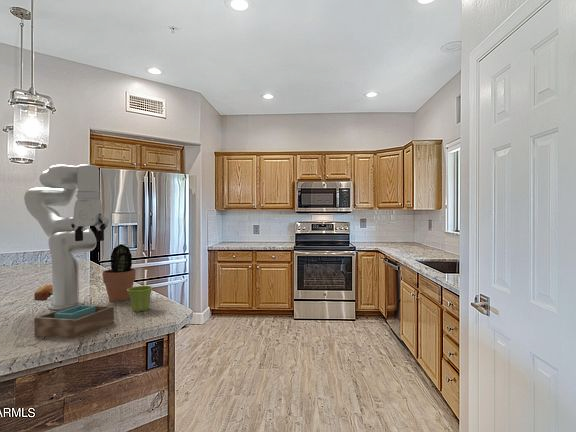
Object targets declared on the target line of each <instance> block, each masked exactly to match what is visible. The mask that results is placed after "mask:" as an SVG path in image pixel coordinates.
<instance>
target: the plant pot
mask: <svg viewBox="0 0 576 432" xmlns="http://www.w3.org/2000/svg"><path fill="white" fill-rule="evenodd" d="M152 289H153V286H152V285H137V286H133V287H132V288H129V289H127V291H128V293H129V295H130V299H129V300H130V304H131V309H132V311H133V312H137V313H139V312H144V311H147V310H149V309H150V303H151V302H150V301H151V294H152Z"/></svg>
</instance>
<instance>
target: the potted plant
mask: <svg viewBox="0 0 576 432" xmlns="http://www.w3.org/2000/svg"><path fill="white" fill-rule="evenodd" d="M132 258H133V256H132V253H131V251H130V247H129V246H126V245H124V244H122V243H120V244H118V245H117V246H115V247H113V250H112V252H111V255H110V268H111V269H106V270H103V271H102V282H103V284H105V288H106V293H107V298H108V301H110V302H113V303H115V302H124V300H125V301H128V300H130V295H129V293H128V291H127V289H129V288H132V287H134V282H135V280H136V274H137V272H136V271H137V269H136V268H133V267H132V265H133V262H132V261H133V259H132Z"/></svg>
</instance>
